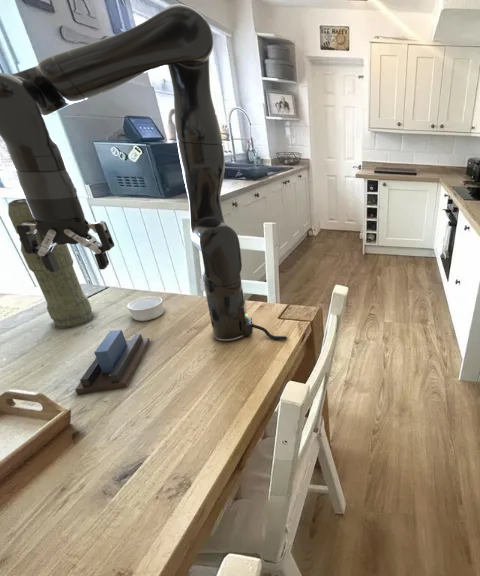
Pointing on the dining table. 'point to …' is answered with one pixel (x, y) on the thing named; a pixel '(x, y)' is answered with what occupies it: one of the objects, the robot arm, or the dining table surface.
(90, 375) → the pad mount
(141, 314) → the ramekin
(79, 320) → the olive green tall column
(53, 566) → the dining table surface
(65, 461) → the dining table surface
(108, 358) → the back pad
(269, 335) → the robot arm
